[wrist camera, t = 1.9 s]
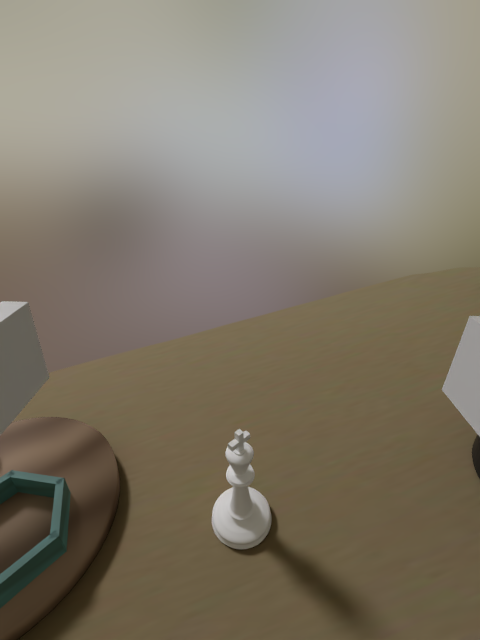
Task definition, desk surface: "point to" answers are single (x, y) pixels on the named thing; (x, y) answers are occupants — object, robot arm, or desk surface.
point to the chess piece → (241, 500)
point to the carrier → (50, 514)
